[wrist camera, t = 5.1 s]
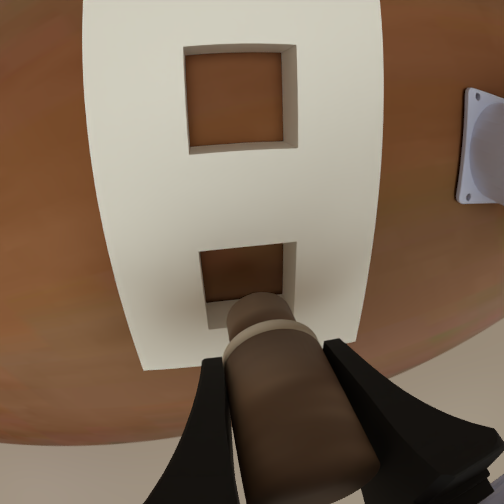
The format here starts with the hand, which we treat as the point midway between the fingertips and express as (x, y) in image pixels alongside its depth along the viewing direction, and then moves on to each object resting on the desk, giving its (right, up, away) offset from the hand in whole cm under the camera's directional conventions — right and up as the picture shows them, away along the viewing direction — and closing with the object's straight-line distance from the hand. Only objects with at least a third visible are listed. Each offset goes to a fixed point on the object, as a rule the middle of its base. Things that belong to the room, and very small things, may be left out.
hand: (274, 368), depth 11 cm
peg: (-1, +1, +2) cm, 3 cm away
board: (-1, +8, +5) cm, 9 cm away
